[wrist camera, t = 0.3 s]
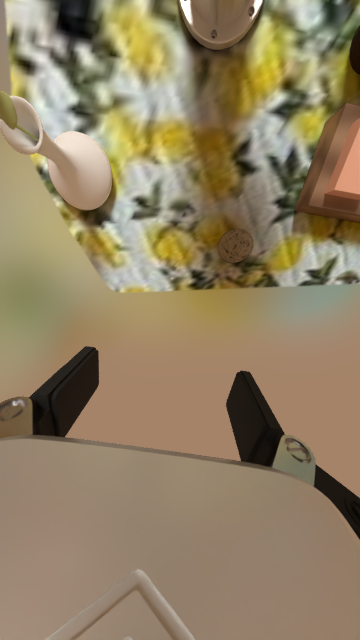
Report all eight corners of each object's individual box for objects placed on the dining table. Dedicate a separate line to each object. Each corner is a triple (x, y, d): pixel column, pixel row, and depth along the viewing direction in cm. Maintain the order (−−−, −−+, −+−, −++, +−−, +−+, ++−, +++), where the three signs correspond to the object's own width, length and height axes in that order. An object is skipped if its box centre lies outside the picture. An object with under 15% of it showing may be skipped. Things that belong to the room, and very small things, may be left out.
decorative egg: (222, 227, 35) (236, 217, 25) (248, 238, 35) (271, 232, 26) (210, 256, 37) (219, 256, 27) (235, 266, 37) (252, 269, 28)
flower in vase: (125, 164, 31) (-48, -100, 8) (102, 224, 35) (-61, 161, 12) (56, 116, 29) (-450, -435, 6) (40, 185, 33) (-311, 14, 10)
